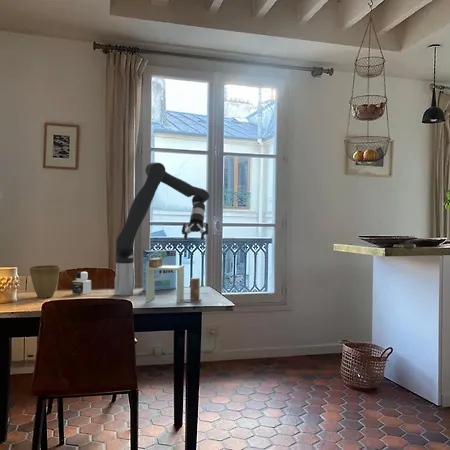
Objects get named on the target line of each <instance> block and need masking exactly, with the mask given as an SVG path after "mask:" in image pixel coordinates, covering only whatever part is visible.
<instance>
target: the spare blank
mask: <svg viewBox="0 0 450 450" xmlns="http://www.w3.org/2000/svg"><path fill="white" fill-rule="evenodd" d="M160 266H162V258H152V259H149V268H157V267H160Z"/></svg>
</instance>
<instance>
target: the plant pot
mask: <svg viewBox="0 0 450 450" xmlns="http://www.w3.org/2000/svg"><path fill="white" fill-rule="evenodd" d="M60 271H61V265H58V264H57V265H55V264H53V265H52V264H50V265H48V264H47V265H46V264H45V265H34V266H33V265H32V266H29V273H30V277H31V278H30V279H31V282H32V286H33V289H34V292H35V294H36V297H37V298H38V297H40V298H39V299H48V298H47V297H50V298H53V297H54V294H55V291H56V289H57V285H58V281H59V277H60Z"/></svg>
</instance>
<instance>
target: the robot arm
mask: <svg viewBox="0 0 450 450" xmlns="http://www.w3.org/2000/svg"><path fill="white" fill-rule="evenodd" d="M144 170H145V174H146V175H147V177H146V180H145V182H144V184H143V186H142V187H141V188H140V190H139V191H138V192H137V193H136V196H135V197H134V198H133V200H132V203H131V206H130V207H129V211H128V214H127V218H126V221H125V223H124V226H123V227H122V229H121V231H120V233H119V235H117V237H116V240H115V277H114V293H113V294H114V296H120V297H121V296H123V297H124V296H125V297H126V296H132V295H134V242H135V238H136V236H137V232H138V230H139V228H140V226H141V225H142V223H143V221H144V219H145V218H146V216H147V213H148V212H149V209H150V207H151V205H152V202H153V199H154V197H155V195H156V191H157V189H158V187H159V186H160V184H161V183H163V184H164V185H166V186H168V187H170V188H171V189H173V190H174V191H176V192H178V193H180V194H181V195H183V196H185V197H187V198H190V197H192V199H191V204H192V210H191V213H190V218H189V223H188V224H186V223H182V224H183V225H182V228H181V234H182V235H183V238H184V240H185V241H187V239H188V236H189V234H192V233H195V232H196V233H198V232H199V233H200V240H201V241H203V240H204V239H205V235H207V236H208V235H209V227H210V226H209V224H208V223H206V224H204V221H205V211H206V204H205V203H206V202H207V201H208V200H209V199H210V194H209V192H208V191H207V190H206V189H204V188H201V187H197V186H194V185H192V184H191V183H188V182H187V181H185V180H183V179H181V178H179V177H176V176H174V175H172V174H171V173H169V172H167V171H166V167H165V165H164V163H161V162H157V161H155V162H150V163H148V164H147V165H146V167H145V169H144Z"/></svg>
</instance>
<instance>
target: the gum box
mask: <svg viewBox="0 0 450 450" xmlns="http://www.w3.org/2000/svg"><path fill="white" fill-rule="evenodd" d="M152 258H162V265H168V266H177V263H176V262H177V250H176V249H161V250H159V249H157V250H155V249H154V250H143V251H142V291H144V290H145V292H146V267H149V259H152ZM161 289H162V290H171V289H177V270H155V291H158V290H159V291H161Z"/></svg>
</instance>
